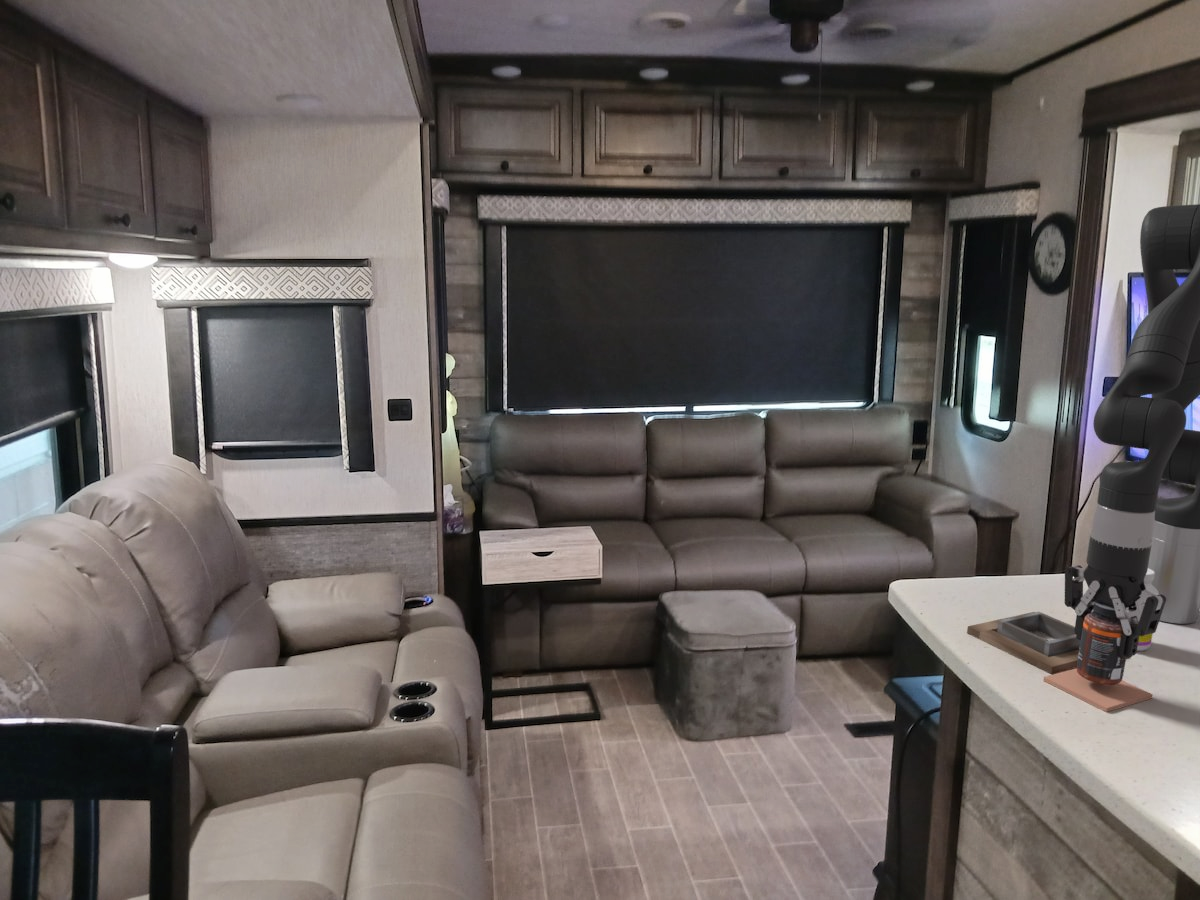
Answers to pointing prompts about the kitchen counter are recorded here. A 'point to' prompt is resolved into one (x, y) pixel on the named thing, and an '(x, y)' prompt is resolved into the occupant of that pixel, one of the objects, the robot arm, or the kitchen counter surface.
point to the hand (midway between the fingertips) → (1103, 647)
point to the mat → (1098, 690)
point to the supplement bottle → (1101, 647)
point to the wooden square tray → (1032, 640)
